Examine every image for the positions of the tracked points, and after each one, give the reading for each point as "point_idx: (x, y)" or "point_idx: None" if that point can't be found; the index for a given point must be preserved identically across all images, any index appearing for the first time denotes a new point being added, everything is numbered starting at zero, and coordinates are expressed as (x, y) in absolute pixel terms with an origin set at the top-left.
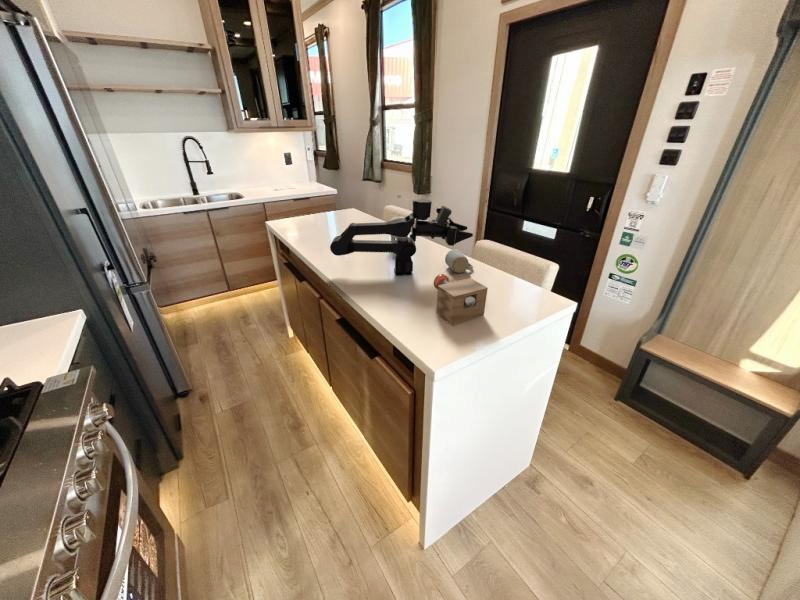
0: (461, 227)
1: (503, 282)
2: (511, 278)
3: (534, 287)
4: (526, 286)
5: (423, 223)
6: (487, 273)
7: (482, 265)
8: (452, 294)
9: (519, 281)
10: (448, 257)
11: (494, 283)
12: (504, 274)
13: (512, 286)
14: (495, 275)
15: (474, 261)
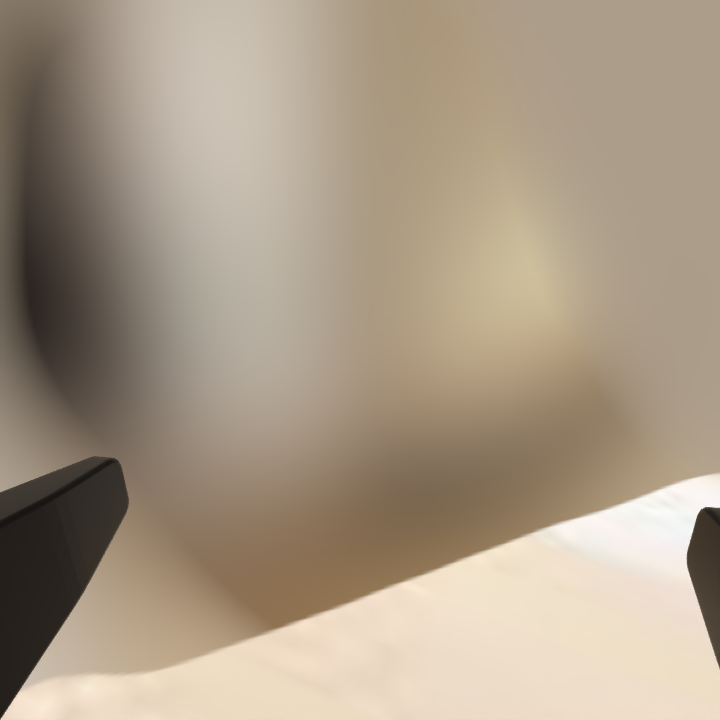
0: (15, 576)
1: (643, 623)
2: (550, 547)
3: (673, 491)
4: (672, 519)
5: None
6: (456, 674)
7: (268, 643)
8: None
9: (596, 524)
10: None
11: (692, 705)
12: (478, 560)
13: None
14: (500, 626)
15: (147, 677)
